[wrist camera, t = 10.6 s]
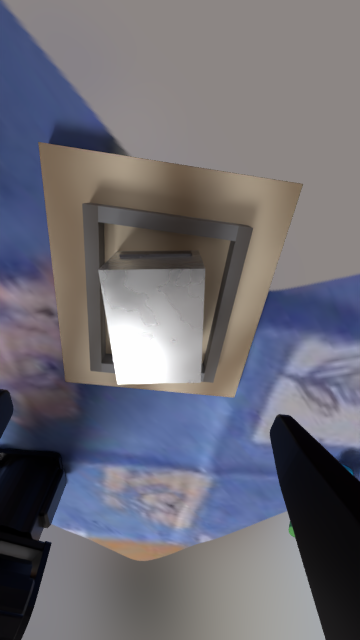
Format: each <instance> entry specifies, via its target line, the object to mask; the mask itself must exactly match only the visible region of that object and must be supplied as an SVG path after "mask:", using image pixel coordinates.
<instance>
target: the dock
mask: <svg viewBox="0 0 360 640" xmlns="http://www.w3.org/2000/svg"><path fill="white" fill-rule="evenodd" d="M38 143H39V152H40V161H41V170H42V179H43V188H44V196H45V205H46V214H47V223H48V232H49V241H50V249H51V258H52V267H53V276H54V285H55V293H56V302H57V311H58V320H59V329H60V338H61V346H62V355H63V364H64V373H65V382H72V383H83V384H94V385H105V386H116V387H126V388H137V389H148V390H159V391H169V392H180V393H191V394H202V395H212V396H223V397H234V396H235V393H236V390H237V387H238V384H239V381H240V378H241V375H242V372H243V369H244V365H245V362H246V359H247V356H248V353H249V350H250V347H251V344H252V341H253V338H254V335H255V331H256V328H257V325H258V322H259V319H260V316H261V313H262V310H263V307H264V304H265V300H266V297H267V294H268V291H269V288H270V285H271V282H272V279H273V276H274V273H275V269H276V266H277V263H278V260H279V257H280V254H281V251H282V248H283V245H284V242H285V239H286V235H287V232H288V229H289V226H290V223H291V220H292V217H293V213H294V211H295V208H296V205H297V201H298V198H299V195H300V192H301V189H302V186H303V184H300V183H293V182H287V181H280V180H275V179H268V178H262V177H255V176H249V175H243V174H237V173H230V172H224V171H218V170H211V169H204V168H199V167H192V166H186V165H179V164H174V163H167V162H160V161H155V160H148V159H142V158H136V157H129V156H123V155H117V154H110V153H104V152H98V151H91V150H85V149H79V148H73V147H66V146H60V145H54V144H47V143H41V142H38ZM163 250H199V252H200V255H201V258H202V261H203V264H204V266H205V289H204V314H203V339H202V364H201V383H149V384H118V383H117V377H116V372H115V366H114V360H113V354H112V348H111V342H110V336H109V330H108V325H107V319H106V313H105V307H104V301H103V295H102V289H101V284H100V278H99V272H98V270H99V269H100V268H101V267H102V266H103V265H104V264H105V263H106V262H107V261H108V260H109V259H110V258H111V257H112V256H113V255H114V254H115V253H116V252H117V251H163Z"/></svg>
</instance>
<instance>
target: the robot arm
mask: <svg viewBox="0 0 360 640" xmlns="http://www.w3.org/2000/svg"><path fill="white" fill-rule="evenodd" d="M12 414H13V404H12V400H11V396H10V393H9V391H8V390H3V389H0V438H1V436H2V434H3V432H4V430H5V428H6V426H7V424H8V422H9V420H10V418H11V416H12ZM270 439H271V444H272V449H273V454H274V459H275V465H276V470H277V475H278V479H279V484H280V487H281V491H282V494H283V498H284V501H285V504H286V508H287V511H288V514H289V518H290V521H291V525H292V528H293V531H294V535H295V538H296V541H297V545H298V548H299V551H300V555H301V558H302V562H303V565H304V568H305V572H306V575H307V578H308V582H309V585H310V588H311V592H312V595H313V598H314V601H315V605H316V609H317V612H318V615H319V618H320V622H321V625H322V629H323V632H324V635H325V639H326V640H360V481H359V480H358V479H357V478H356V477H355V476H353V475H352V474H351V473H350V472H349V471H348V470H347V469H346V468H345V467H344V466H343V465H342V464H341V463H340V462H339V461H338V460H337V459H336V458H335V457H333V456H332V455H331V454H330V453H329V452H328V451H327V450H326V449H325V448H324V447H323V446H322V445H321V444H320V443H319V442H318V441H317V440H316V439H315V438H313V437H312V436H311V435H310V434H309V433H308V432H307V431H306V430H305V429H304V428H303V427H302V426H301V425H300V424H299V423H298V422H297V421H296V420H295V419H293V418H292V417H291V416H289V415H281V414H279V415H277V416H276V418H275V420H274V423H273V425H272V427H271V429H270ZM65 486H66V479H65V472H64V470H63V468H62V461H61V456H60V455H59V454H58V453H49V452H35V451H22V450H8V449H0V640H21V639H22V636H23V634H24V632H25V630H26V627H27V625H28V622H29V620H30V617H31V614H32V611H33V608H34V605H35V602H36V598H37V594H38V591H39V587H40V584H41V580H42V576H43V573H44V569H45V565H46V562H47V558H48V554H49V551H50V546H51V542H47V541H45V542H42V541H39V538H40V536H41V533H42V531H43V528H48V527H49V526H50V525H51V523H52V520H53V517H54V515H55V512H56V510H57V507H58V504H59V502H60V499H61V496H62V494H63V491H64V488H65Z"/></svg>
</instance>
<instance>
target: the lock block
mask: <svg viewBox="0 0 360 640" xmlns="http://www.w3.org/2000/svg"><path fill="white" fill-rule="evenodd" d="M98 272H99V278H100V284H101V289H102V295H103V301H104V307H105V313H106V319H107V325H108V330H109V336H110V342H111V348H112V354H113V360H114V366H115V372H116V377H117V383H118V384H149V383H201V364H202V339H203V314H204V289H205V266H204V264H203V261H202V258H201V255H200V252H199V250H163V251H117V252H116V253H115V254H114V255H113V256H112V257H111V258H110V259H109V260H108V261H107V262H106V263H105V264H104V265H103V266H102V267H101V268H100V269H99V270H98Z"/></svg>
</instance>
